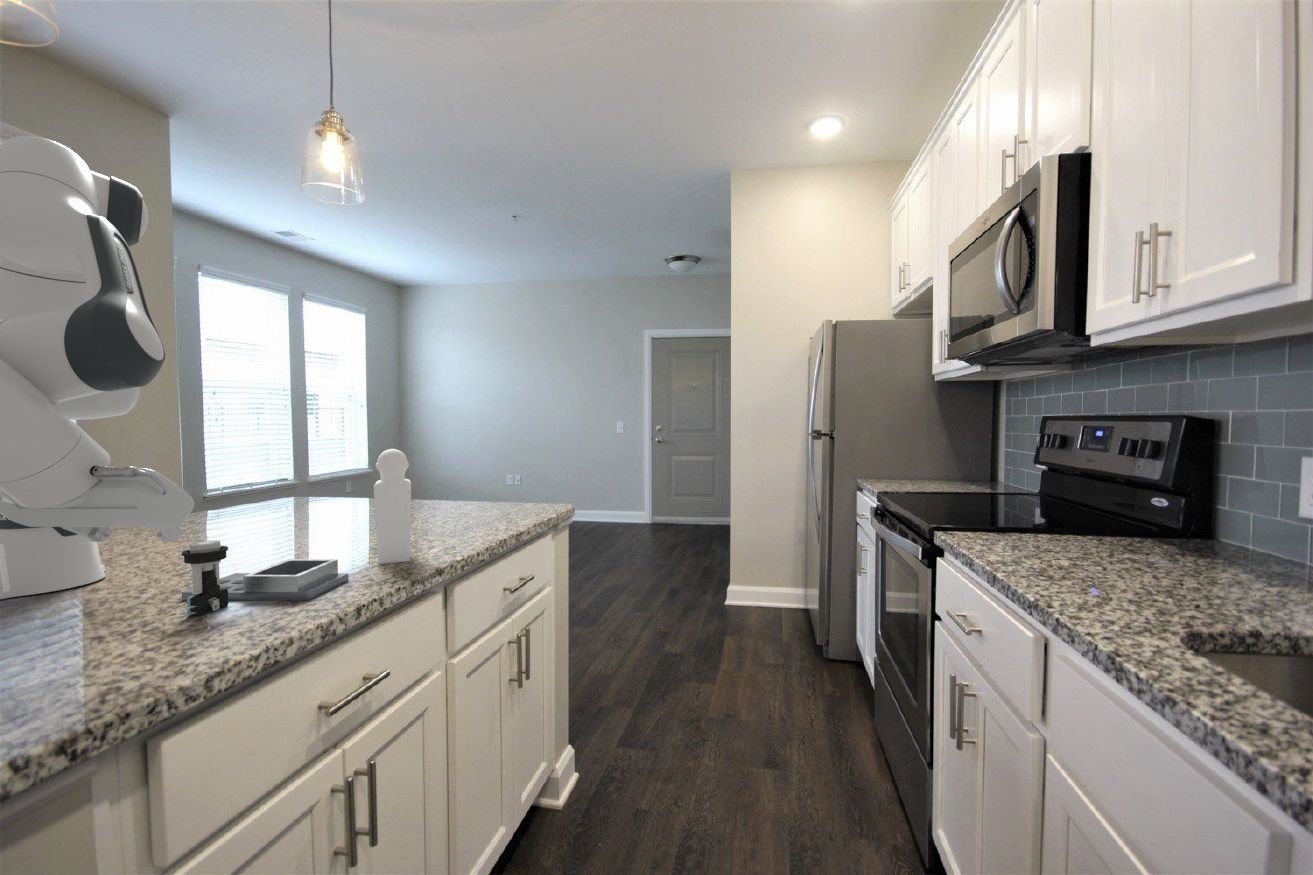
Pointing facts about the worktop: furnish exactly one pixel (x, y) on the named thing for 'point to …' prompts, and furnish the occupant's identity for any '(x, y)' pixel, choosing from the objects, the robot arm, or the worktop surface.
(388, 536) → the white bottle
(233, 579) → the organizer
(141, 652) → the worktop surface
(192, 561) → the push button
